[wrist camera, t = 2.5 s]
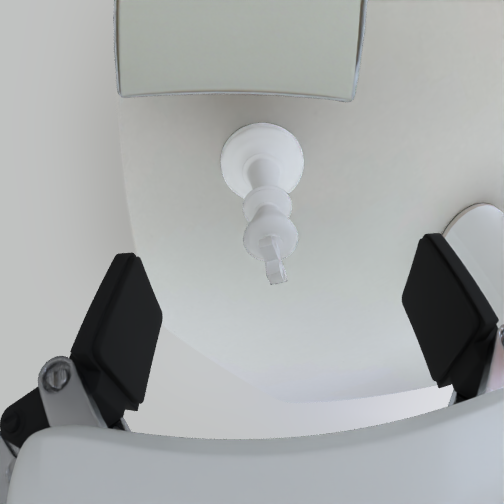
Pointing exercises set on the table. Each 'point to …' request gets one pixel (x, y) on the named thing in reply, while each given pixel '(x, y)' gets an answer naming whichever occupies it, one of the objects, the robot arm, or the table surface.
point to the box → (239, 47)
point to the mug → (481, 250)
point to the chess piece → (265, 190)
